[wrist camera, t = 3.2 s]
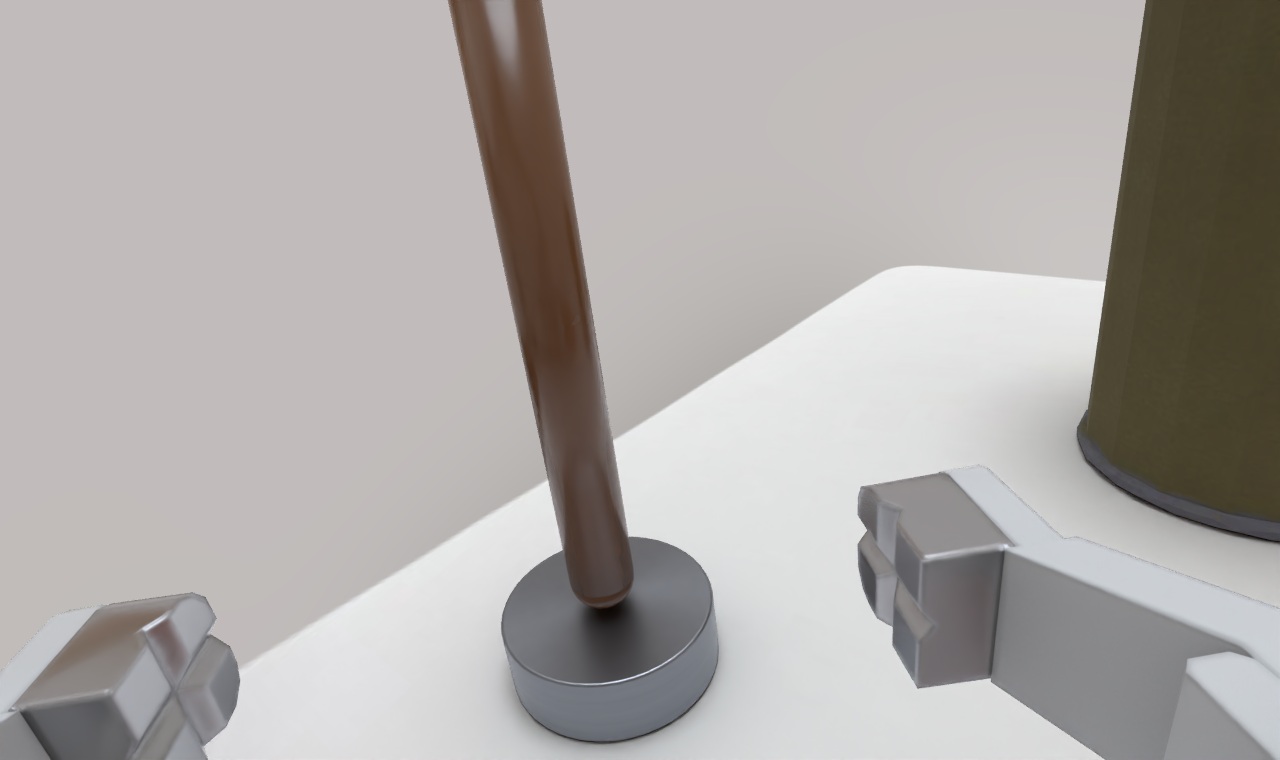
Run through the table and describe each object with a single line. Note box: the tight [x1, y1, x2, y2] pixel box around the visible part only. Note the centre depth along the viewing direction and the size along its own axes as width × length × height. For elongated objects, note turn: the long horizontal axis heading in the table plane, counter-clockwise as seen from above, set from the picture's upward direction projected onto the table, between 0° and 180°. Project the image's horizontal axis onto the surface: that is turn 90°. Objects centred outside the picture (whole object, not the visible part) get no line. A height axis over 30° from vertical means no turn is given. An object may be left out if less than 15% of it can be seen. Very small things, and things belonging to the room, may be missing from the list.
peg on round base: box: [448, 0, 718, 742], centre depth 17 cm, size 6×6×19 cm
